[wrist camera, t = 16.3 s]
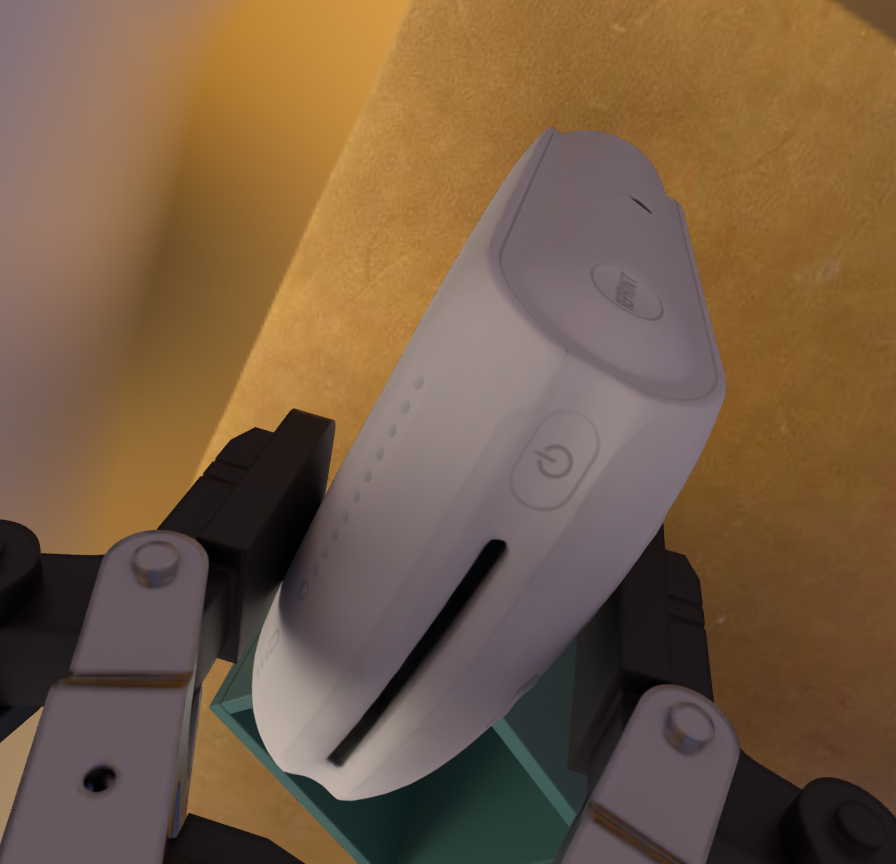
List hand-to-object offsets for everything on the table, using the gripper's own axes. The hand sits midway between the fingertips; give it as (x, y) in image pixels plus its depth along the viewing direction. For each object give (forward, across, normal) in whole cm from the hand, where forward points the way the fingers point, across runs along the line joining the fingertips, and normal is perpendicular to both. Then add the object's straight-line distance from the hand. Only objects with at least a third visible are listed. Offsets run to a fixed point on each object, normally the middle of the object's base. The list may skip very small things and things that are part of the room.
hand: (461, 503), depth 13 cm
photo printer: (+9, 0, 0) cm, 9 cm away
